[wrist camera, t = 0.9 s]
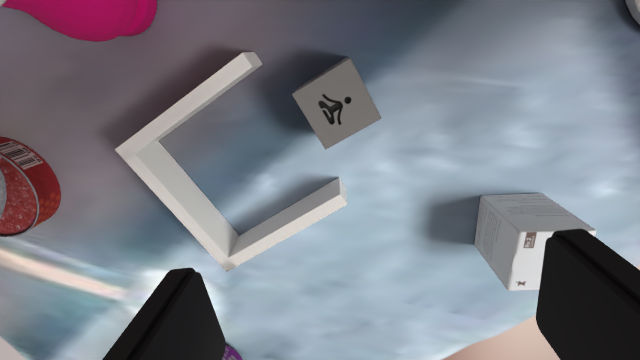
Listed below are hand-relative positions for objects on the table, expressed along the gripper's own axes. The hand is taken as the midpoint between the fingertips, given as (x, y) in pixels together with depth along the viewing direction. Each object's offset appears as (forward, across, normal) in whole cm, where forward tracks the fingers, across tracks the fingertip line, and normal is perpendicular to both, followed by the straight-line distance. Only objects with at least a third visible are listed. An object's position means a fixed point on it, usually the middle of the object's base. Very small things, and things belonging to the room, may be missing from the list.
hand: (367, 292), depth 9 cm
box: (+22, +10, +3) cm, 25 cm away
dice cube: (+23, +1, -2) cm, 23 cm away
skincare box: (+23, -15, +13) cm, 30 cm away
